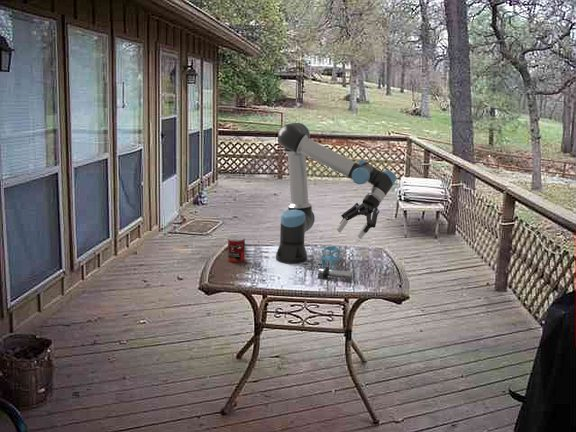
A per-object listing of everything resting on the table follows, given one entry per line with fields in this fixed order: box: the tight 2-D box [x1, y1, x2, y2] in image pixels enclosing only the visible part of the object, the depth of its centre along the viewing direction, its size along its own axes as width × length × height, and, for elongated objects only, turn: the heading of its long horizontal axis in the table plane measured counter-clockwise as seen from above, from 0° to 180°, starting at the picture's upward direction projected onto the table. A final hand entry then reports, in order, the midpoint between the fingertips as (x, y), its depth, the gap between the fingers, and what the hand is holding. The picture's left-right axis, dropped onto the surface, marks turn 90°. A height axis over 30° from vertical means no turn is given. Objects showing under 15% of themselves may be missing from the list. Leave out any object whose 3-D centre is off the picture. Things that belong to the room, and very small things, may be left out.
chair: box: [320, 245, 341, 270], centre depth 280 cm, size 8×8×12 cm
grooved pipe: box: [317, 266, 353, 283], centre depth 272 cm, size 14×5×5 cm, turn 74°
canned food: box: [227, 235, 246, 263], centre depth 294 cm, size 8×8×11 cm
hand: (348, 234), depth 284 cm, fingers open, 13 cm apart
